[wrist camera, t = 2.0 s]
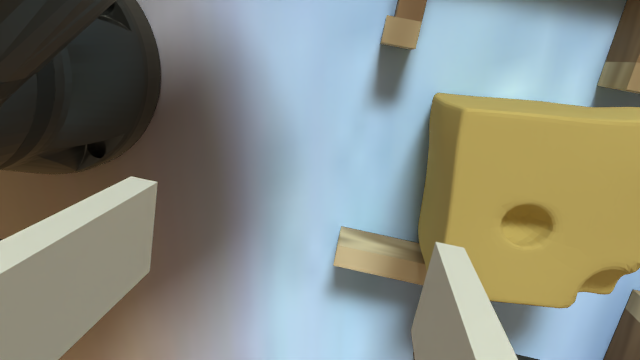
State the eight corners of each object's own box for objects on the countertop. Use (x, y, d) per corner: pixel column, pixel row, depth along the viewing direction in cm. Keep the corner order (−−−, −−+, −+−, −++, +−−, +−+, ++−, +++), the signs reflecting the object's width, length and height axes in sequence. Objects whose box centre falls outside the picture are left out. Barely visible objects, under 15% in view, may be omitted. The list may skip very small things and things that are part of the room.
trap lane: (318, 331, 36) (311, 368, 32) (413, -110, 27) (421, -142, 23) (683, 415, 34) (727, 467, 30) (903, -26, 26) (1010, -42, 22)
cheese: (561, 247, 32) (641, 328, 23) (407, 230, 33) (421, 300, 24) (596, 98, 29) (705, 118, 20) (427, 83, 30) (452, 96, 21)
